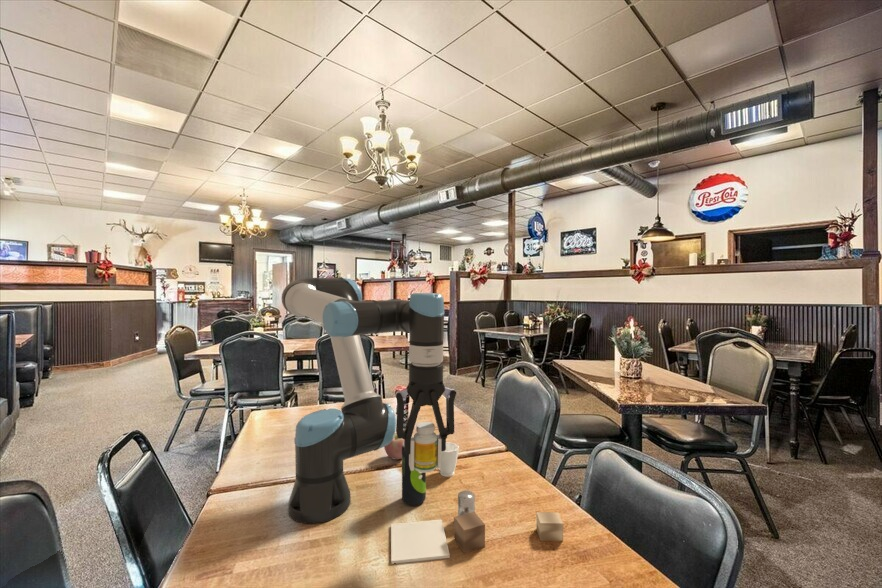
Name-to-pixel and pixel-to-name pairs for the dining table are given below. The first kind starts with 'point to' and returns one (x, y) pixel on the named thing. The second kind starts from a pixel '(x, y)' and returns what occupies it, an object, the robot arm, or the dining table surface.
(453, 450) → the cup
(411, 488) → the beverage can
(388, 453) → the apple
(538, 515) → the oak block
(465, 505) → the cylinder
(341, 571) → the dining table surface
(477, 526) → the walnut block
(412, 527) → the coaster
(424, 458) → the supplement bottle
